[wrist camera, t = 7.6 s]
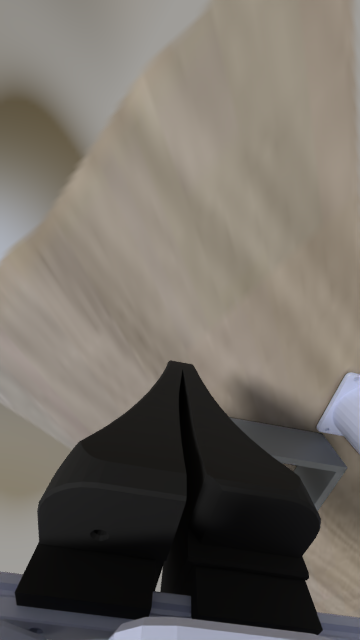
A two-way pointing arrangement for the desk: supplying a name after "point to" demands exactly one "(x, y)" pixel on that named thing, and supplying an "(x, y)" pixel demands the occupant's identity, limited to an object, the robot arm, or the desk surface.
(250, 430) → the u-shaped bracket
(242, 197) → the desk surface
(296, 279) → the desk surface
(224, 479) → the robot arm
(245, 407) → the desk surface
